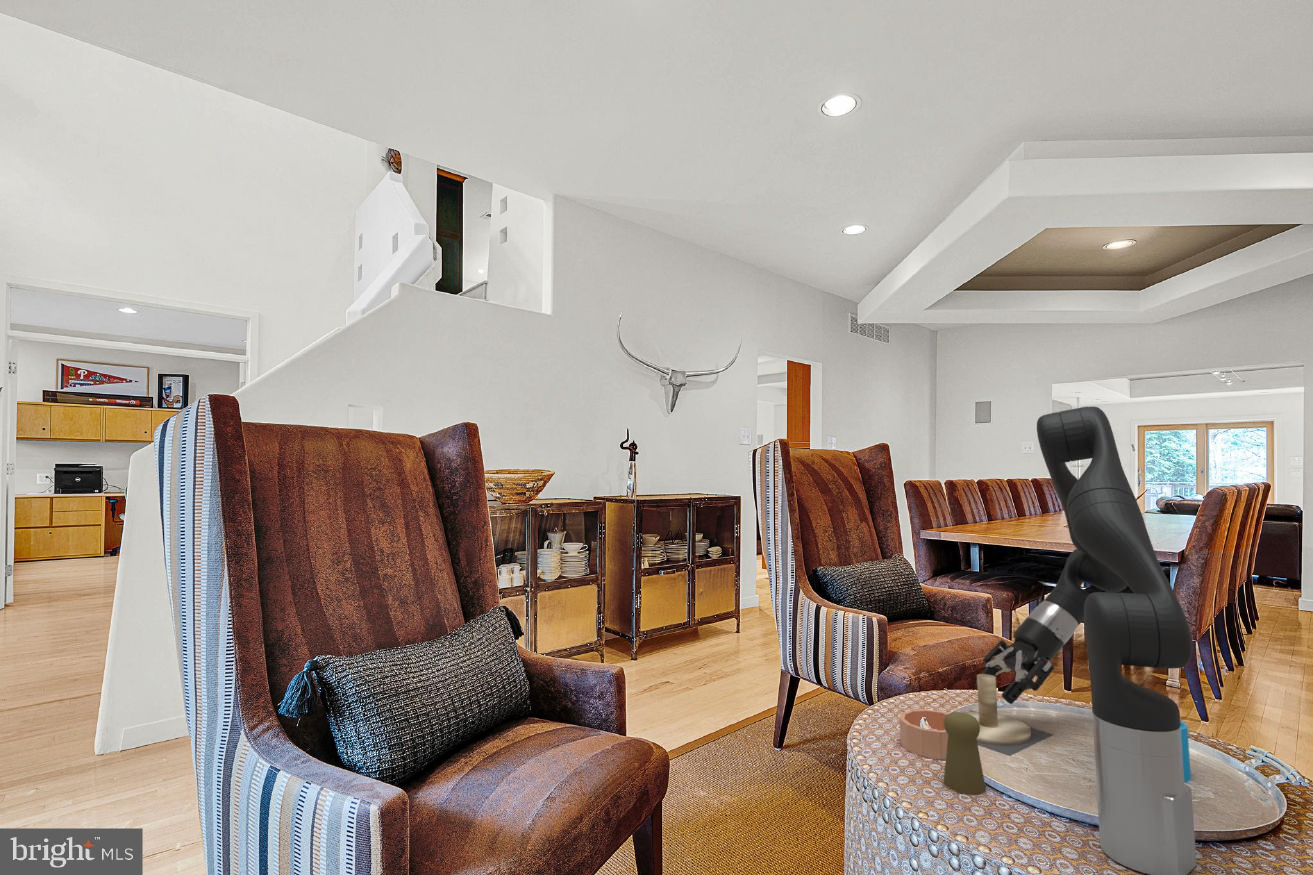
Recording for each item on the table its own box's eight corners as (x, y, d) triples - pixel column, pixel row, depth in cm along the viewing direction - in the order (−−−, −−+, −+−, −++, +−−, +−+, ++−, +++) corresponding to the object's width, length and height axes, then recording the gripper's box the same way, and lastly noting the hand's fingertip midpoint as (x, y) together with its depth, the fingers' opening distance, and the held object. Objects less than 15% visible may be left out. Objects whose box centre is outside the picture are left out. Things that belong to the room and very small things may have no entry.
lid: (1045, 733, 121) (1042, 678, 122) (1006, 752, 113) (1003, 692, 114) (973, 712, 133) (971, 662, 133) (934, 727, 125) (931, 674, 126)
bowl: (980, 751, 115) (978, 722, 115) (944, 767, 109) (943, 736, 109) (924, 732, 124) (923, 705, 124) (888, 745, 118) (887, 717, 118)
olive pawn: (976, 777, 105) (973, 708, 106) (992, 795, 99) (988, 722, 100) (938, 776, 105) (935, 707, 106) (951, 794, 99) (948, 721, 100)
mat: (1053, 736, 121) (1053, 734, 121) (1010, 757, 112) (1009, 755, 112) (971, 712, 134) (971, 710, 134) (926, 729, 125) (926, 727, 125)
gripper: (1009, 609, 132) (958, 668, 131) (1057, 624, 118) (1000, 691, 116) (1035, 635, 132) (984, 694, 131) (1086, 653, 118) (1030, 720, 117)
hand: (992, 692), depth 124 cm, fingers open, 8 cm apart
